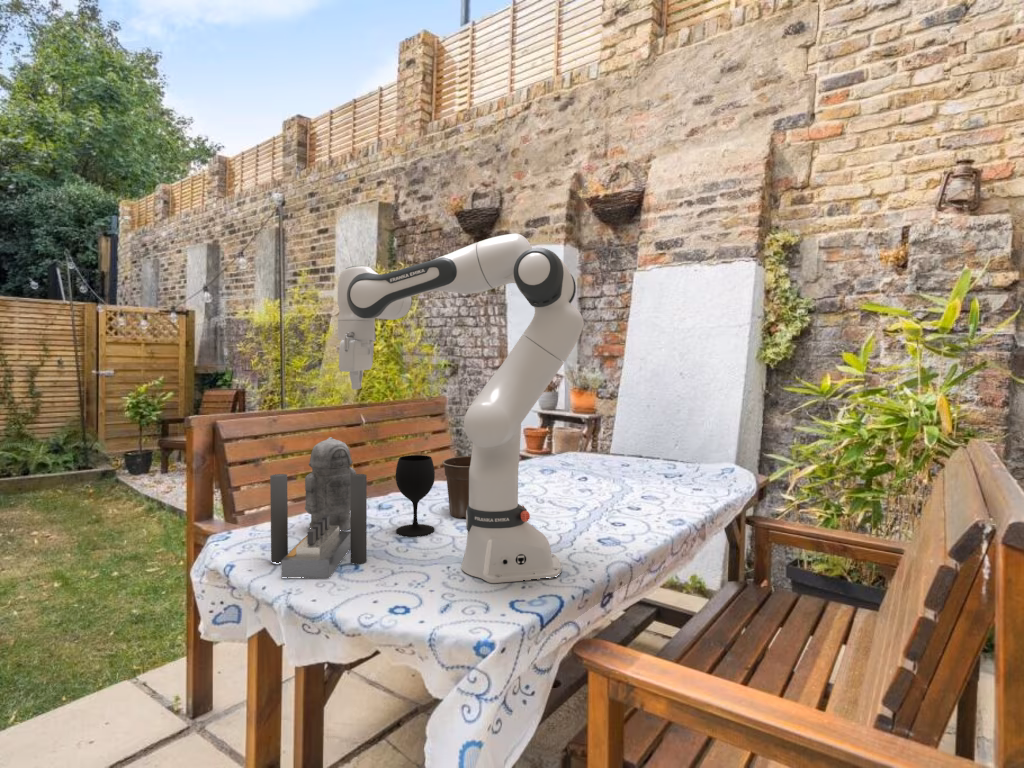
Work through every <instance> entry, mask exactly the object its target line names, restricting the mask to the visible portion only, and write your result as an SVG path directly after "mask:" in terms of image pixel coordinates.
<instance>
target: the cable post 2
mask: <svg viewBox="0 0 1024 768" xmlns="http://www.w3.org/2000/svg"><path fill="white" fill-rule="evenodd" d="M367 476H368V475H367V474H364V473H356V474H354V475H351V476H350V529H349V531H350V564H352V563H354V564H353V565H361V563H363V564H366V563H367V560H368V559H367V558H368V557H367V548H368V546H367V545H368V544H367V543H368V540H367V536H368V535H367V531H368V530H367V527H368V526H367V524H368V522H367V511H368V507H367V504H368V503H367V498H368V497H367V496H368V495H367V487H368V485H367V483H368V482H367Z"/></svg>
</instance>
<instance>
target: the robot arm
mask: <svg viewBox="0 0 1024 768" xmlns="http://www.w3.org/2000/svg"><path fill="white" fill-rule="evenodd" d="M575 281H576V280H575V278H574V276H573V275H572V273H571V272H570V270H569V267H568V266H567V264H566V263H565V262H564V261H563V260H562V258H560V257H559V256H558V255H557V254H556V253H555V252H554V251H552V250H550V249H548V248H543V247H532V245H531V244H530V242H529V240H528V239H527V238H526V237H525V236H524V235H522V234H519V233H508V234H504V235H503V234H502V235H498V236H493V237H489V238H486V239H483V240H480V241H478V242H477V241H476V242H474V243H471V244H468V245H467V246H464V247H461V248H459V249H457V250H455V251H452V252H450V253H446V254H445V255H441V256H439V257H436V258H434V259H432V260H428V261H424V262H421V263H417V264H415V265H411V266H407V267H404V268H401V269H397V270H393V271H391V272H388V273H382V274H381V273H380V274H379V273H378V272H376V271H375V270H373V268H371V267H370V266H366V265H352V266H348V267H345V268H344V269H342V270H341V272H340V274H339V277H338V284H337V306H338V311H339V312H338V316H337V340H338V341H340V342H339V349H338V350H339V351H338V352H339V353H338V368H339V371H340V372H343V373H344V372H347V373H348V372H349V379H350V383H351V385H350V386H351V389H352V390H356V391H357V390H360V389H362V383H363V382H362V381H363V376H364V371H369V370H372V367H373V362H374V346H375V345H374V344H375V343H374V342H376V340H377V334H376V329H375V328H376V327H375V325H376V324H375V323H376V319H380V320H390V321H394V320H395V321H396V320H398V319H402V318H404V317H405V316H406V315H408V313H409V312H410V310H411V307H412V304H413V297H414V296H417V295H421V294H424V293H428V292H430V293H431V292H447V293H456V294H462V295H471V294H476V293H484V292H487V291H491V290H494V289H496V288H499V287H502V286H506V285H508V284H516V287H517V288H518V290H519V292H520V293H521V294H522V296H523V297H524V298H525V299H526V300H527V302H528V303H529V305H530V306H532V307H533V308H534V315H533V317H532V319H531V322H530V323H529V324H528V326H527V328H526V329H525V330H524V332H523V333H522V334H521V336H520V337H519V339H518V340H517V341H516V343H515V344H514V346H513V348H512V349H511V351H510V352H509V354H508V355H507V357H505V359H504V361H503V362H502V363H501V365H500V366H499V367H498V369H497V370H496V371H495V372H494V373H493V375H492V377H491V378H490V379H489V380H488V382H487V383H486V384H485V385H484V387H483V388H482V390H480V392H479V393H478V394H477V396H476V398H475V399H473V402H472V403H471V404H470V406H469V407H468V409H467V410H466V411H465V412H466V413H465V415H464V420H463V428H464V432H465V435H466V437H467V439H468V440H469V441H470V442H471V443H472V446H471V447H472V449H471V455H470V456H471V463H470V468H469V504H468V505H467V510H466V518H465V519H466V520H465V523H466V524H465V525H466V526H465V527H466V531H467V534H466V535H467V538H466V544H465V551H464V555H463V559H462V563H461V564H460V565H461V567H460V569H461V570H462V572H464V573H465V574H467V575H469V576H472V577H476V578H479V579H482V580H484V581H485V582H487V583H489V584H497V583H498V584H499V583H501V584H502V583H508V582H509V583H510V582H523V580H525V581H532V580H531V579H537V580H540V579H539V578H546V577H555V576H557V575H558V574H560V572H561V573H562V562H561V561H560V558H558V557H557V556H556V555H555V554H553V553H552V548H551V544H550V542H549V539H548V538H547V536H546V535H545V534H544V533H543V532H541V531H540V530H539V529H537V528H536V527H535V526H533V525H532V524H531V523H529V520H530V518H531V515H530V512H529V511H528V509H527V508H526V507H525V505H523V504H522V505H521V504H519V466H520V450H521V435H522V423H523V421H524V420H525V419H526V417H527V416H528V414H529V413H530V411H531V410H532V409H533V408H534V406H535V405H536V403H537V402H538V401H539V399H541V398H540V397H541V396H542V395H543V393H544V392H545V391H546V389H547V388H548V386H549V385H550V383H552V381H553V379H554V378H555V376H556V375H557V374H558V372H559V371H560V369H561V368H562V366H563V365H564V363H565V362H566V361H567V359H568V358H569V356H570V354H571V353H572V351H573V350H574V348H575V346H576V344H577V342H578V340H579V338H580V336H581V334H582V332H583V329H584V326H585V325H584V324H585V321H584V317H583V315H582V314H581V312H580V311H579V309H577V308H576V306H574V305H573V304H572V302H573V300H574V299H575V295H576V292H577V290H576V289H577V285H576V282H575ZM560 575H561V574H560Z"/></svg>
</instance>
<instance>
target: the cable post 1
mask: <svg viewBox="0 0 1024 768" xmlns="http://www.w3.org/2000/svg"><path fill="white" fill-rule="evenodd" d="M269 477H270V478H269V480H270V481H269V482H270V483H269V484H270V485H269V486H270V488H269V489H270V490H269V491H270V561H272V562H276V563H279V562H281V560H282V559H283V558H284V557H285V556H286V555H287V554H288V553H289V531H288V530H289V525H288V524H289V520H288V518H289V517H288V515H289V514H288V509H289V508H288V505H289V504H288V474H286V473H285V474H284V473H276V474H271V475H270V476H269Z"/></svg>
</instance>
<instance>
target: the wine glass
mask: <svg viewBox="0 0 1024 768" xmlns="http://www.w3.org/2000/svg"><path fill="white" fill-rule="evenodd" d="M435 477H436V476H435V466H434V461H433V458H432V457H431V456H429V455H424V454H423V455H422V454H421V455H419V454H414V455H413V454H411V455H404V456H401V457H398V461H397V464H396V468H395V483H396V486H397V488H398V490H399V492H400V493H401V494H402V495H403V496H404V497H405V498H406V499H407V500H409V501H410V502H411V503H412V508H413V509H412V510H413V511H412V512H413V517H412V518H413V519H412V524H406V525H402V526H400V527H397V528H396V530H395V533H396V534H397V535H398V534H399V536H401V535H402V536H401V537H405V536H407V537H408V538H418V537H417V536H420V537H425V535H426V536H429V535H432V534H434V532H435V528H434V526H432V525H429V524H425V523H424V524H422V523H419V521H418V505H419V502H420V501H421V500H422V499H424V498H425V497H426V496H427V495H428V494H429V492H430V491H431V490H432V488H433V487H434V483H435ZM431 533H432V534H431ZM428 534H429V535H428Z"/></svg>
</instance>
